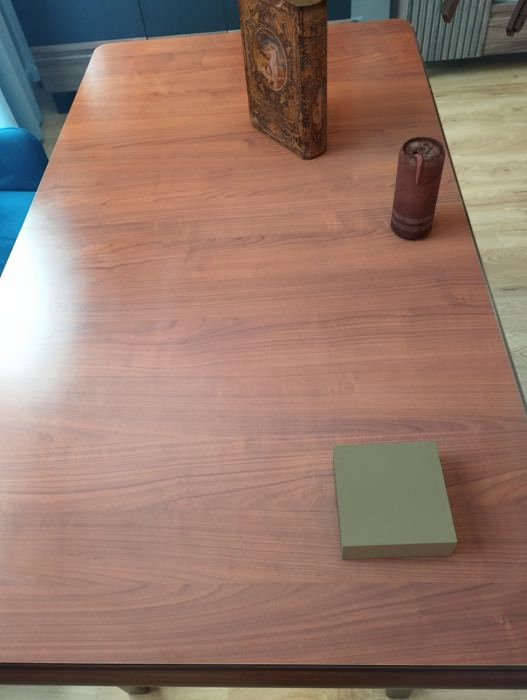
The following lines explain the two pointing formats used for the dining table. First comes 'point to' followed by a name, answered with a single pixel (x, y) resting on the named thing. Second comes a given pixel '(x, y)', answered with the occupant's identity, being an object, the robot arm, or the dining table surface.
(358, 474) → the plate
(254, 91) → the book
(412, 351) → the dining table surface
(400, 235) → the can
